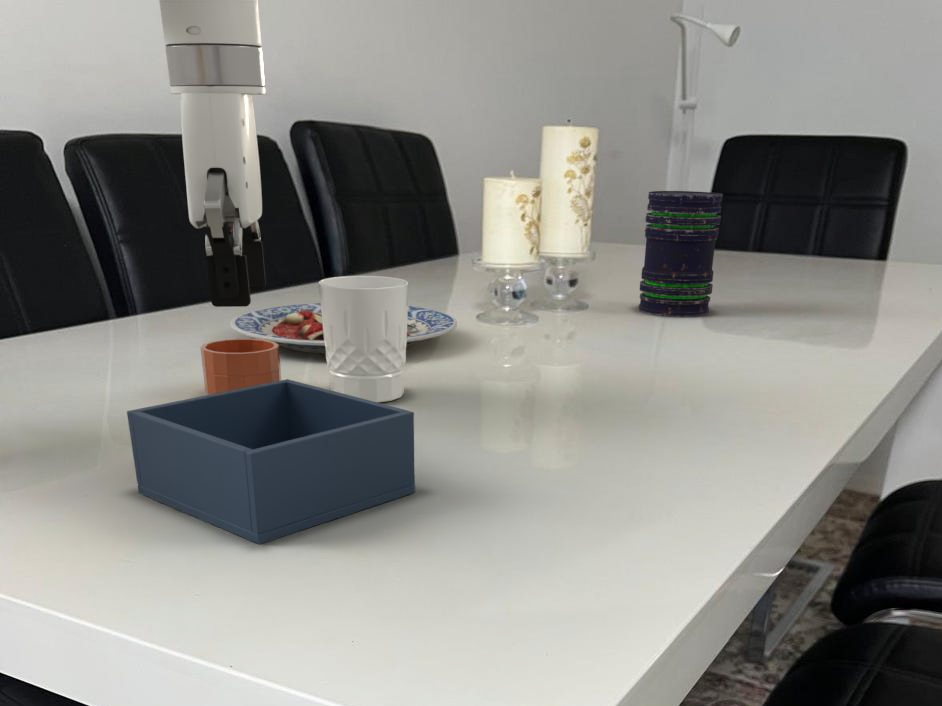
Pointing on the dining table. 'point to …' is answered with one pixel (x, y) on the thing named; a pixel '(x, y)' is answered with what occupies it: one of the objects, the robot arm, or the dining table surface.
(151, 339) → the dining table surface
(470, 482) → the dining table surface
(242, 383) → the bowl
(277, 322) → the ceramic plate
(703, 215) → the storage jar
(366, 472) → the bin
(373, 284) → the white cup
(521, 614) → the dining table surface
